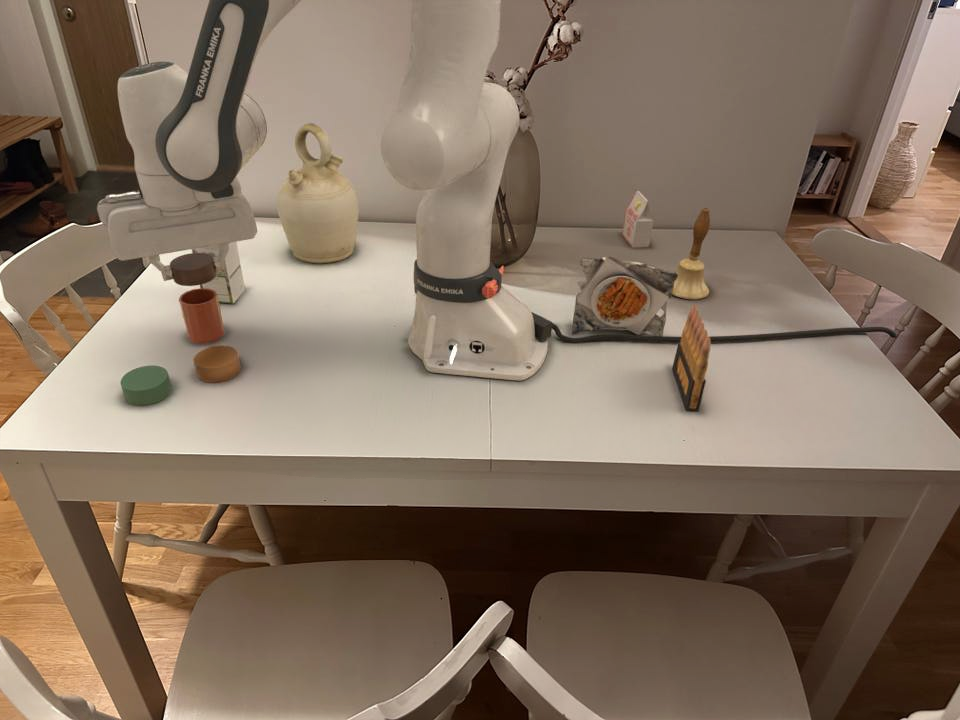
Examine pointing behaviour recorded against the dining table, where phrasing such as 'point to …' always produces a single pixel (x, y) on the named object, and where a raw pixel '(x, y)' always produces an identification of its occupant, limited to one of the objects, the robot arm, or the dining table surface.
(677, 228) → the dining table surface
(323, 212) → the jug
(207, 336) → the cup
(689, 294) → the hand bell
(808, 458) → the dining table surface
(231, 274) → the syrup box
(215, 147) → the robot arm
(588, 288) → the meal
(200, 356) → the oak chip
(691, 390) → the ammunition clip
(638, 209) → the white carton
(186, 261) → the walnut chip
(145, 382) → the green chip
